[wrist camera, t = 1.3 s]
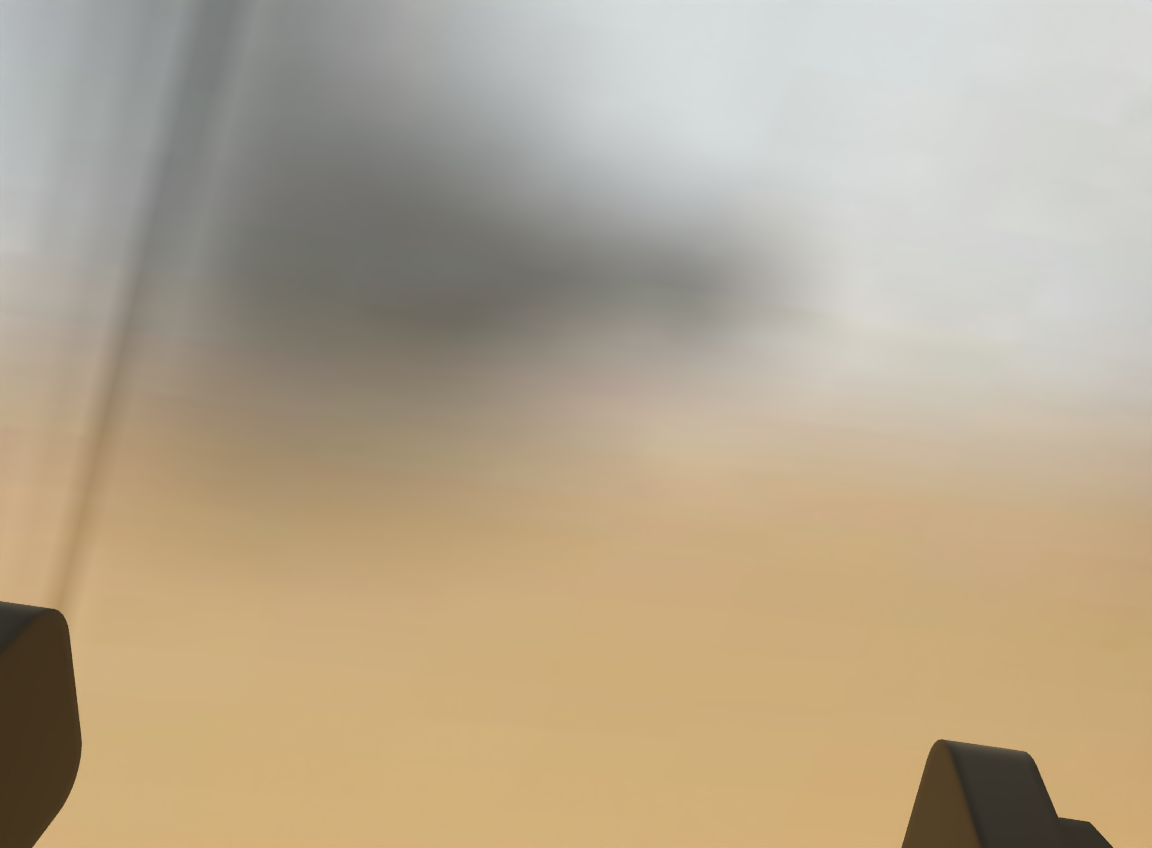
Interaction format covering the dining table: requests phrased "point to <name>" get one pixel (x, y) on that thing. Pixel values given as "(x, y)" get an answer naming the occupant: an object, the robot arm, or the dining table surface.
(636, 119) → the dining table surface
